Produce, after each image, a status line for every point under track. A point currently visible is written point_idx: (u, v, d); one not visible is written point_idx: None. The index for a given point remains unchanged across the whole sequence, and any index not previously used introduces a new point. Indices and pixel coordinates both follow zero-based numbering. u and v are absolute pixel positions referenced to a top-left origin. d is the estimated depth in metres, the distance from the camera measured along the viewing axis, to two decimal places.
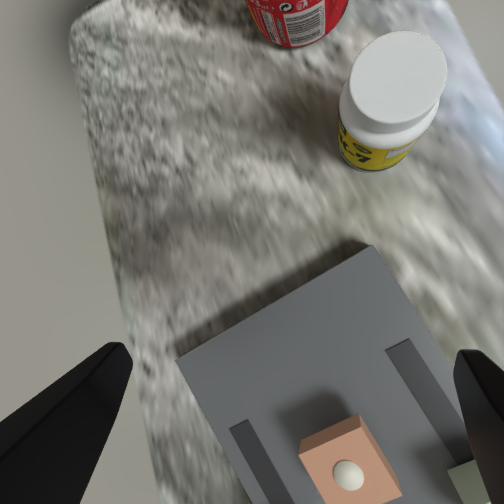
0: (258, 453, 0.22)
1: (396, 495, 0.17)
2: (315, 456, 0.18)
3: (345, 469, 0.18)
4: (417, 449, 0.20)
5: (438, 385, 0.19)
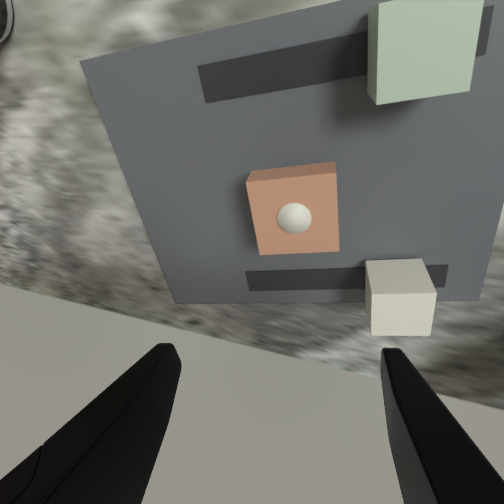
0: (281, 277, 0.21)
1: (333, 179, 0.14)
2: (265, 240, 0.16)
3: (288, 218, 0.15)
4: (332, 117, 0.15)
5: (263, 53, 0.14)
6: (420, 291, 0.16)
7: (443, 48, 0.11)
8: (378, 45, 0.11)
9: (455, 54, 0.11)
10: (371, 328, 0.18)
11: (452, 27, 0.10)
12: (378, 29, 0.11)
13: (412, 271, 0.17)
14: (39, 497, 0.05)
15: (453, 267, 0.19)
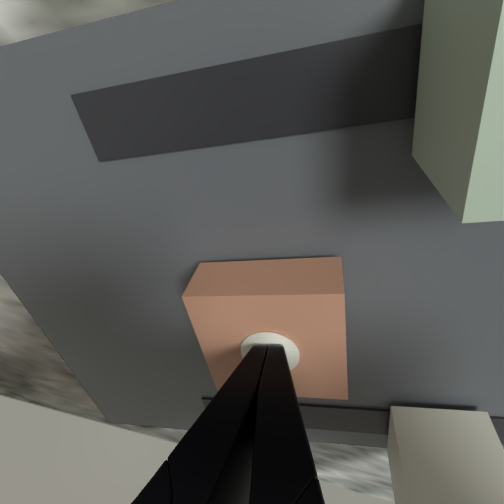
0: None
1: (338, 303, 0.07)
2: (224, 375, 0.10)
3: None
4: (338, 193, 0.08)
5: (194, 73, 0.07)
6: None
7: None
8: (493, 66, 0.03)
9: None
10: None
11: None
12: (500, 13, 0.03)
13: (477, 446, 0.10)
14: None
15: None
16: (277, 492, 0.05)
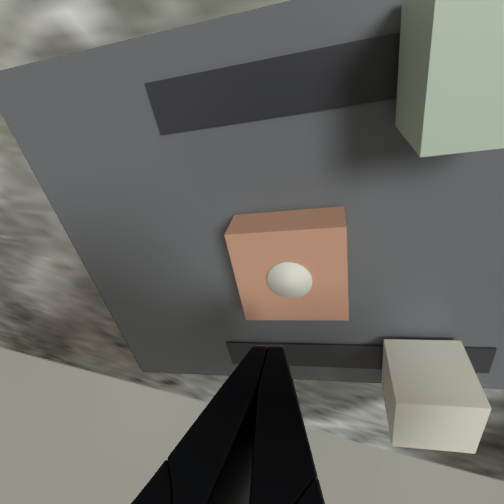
0: None
1: (342, 234, 0.10)
2: (252, 303, 0.13)
3: (281, 279, 0.12)
4: (342, 157, 0.11)
5: (238, 66, 0.10)
6: (467, 404, 0.11)
7: None
8: (430, 59, 0.06)
9: None
10: (393, 438, 0.13)
11: None
12: (432, 30, 0.06)
13: (450, 363, 0.13)
14: None
15: (502, 351, 0.14)
16: (277, 492, 0.05)
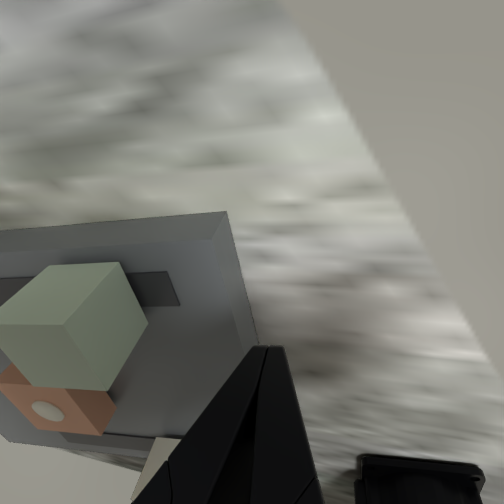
0: (91, 435, 0.21)
1: (63, 390, 0.14)
2: (35, 420, 0.17)
3: (43, 409, 0.16)
4: None
5: None
6: None
7: (61, 361, 0.10)
8: (2, 350, 0.10)
9: (75, 366, 0.10)
10: None
11: (57, 349, 0.10)
12: None
13: None
14: None
15: None
16: (277, 492, 0.05)
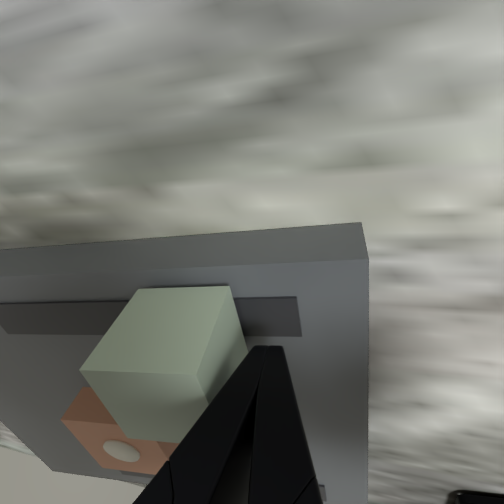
0: None
1: None
2: (102, 459, 0.15)
3: (116, 449, 0.14)
4: None
5: (51, 304, 0.12)
6: None
7: (177, 414, 0.08)
8: (100, 398, 0.08)
9: (194, 420, 0.08)
10: None
11: (177, 401, 0.08)
12: (93, 386, 0.08)
13: None
14: None
15: (331, 488, 0.16)
16: (276, 492, 0.05)
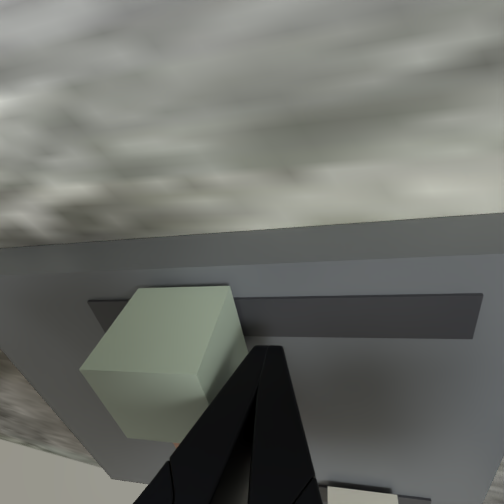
0: None
1: None
2: None
3: None
4: None
5: None
6: None
7: (176, 413, 0.08)
8: (100, 398, 0.08)
9: (193, 420, 0.08)
10: None
11: (178, 401, 0.08)
12: (93, 385, 0.08)
13: None
14: None
15: (437, 501, 0.15)
16: (275, 492, 0.05)
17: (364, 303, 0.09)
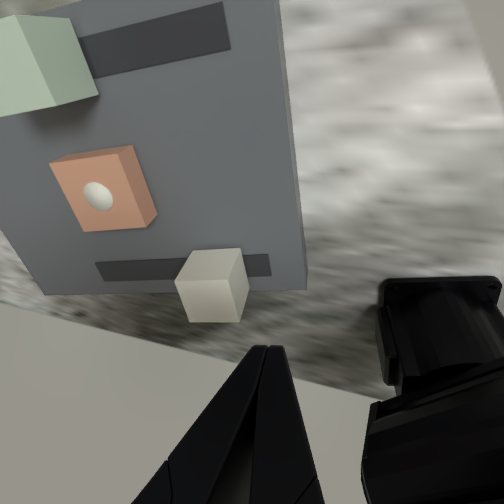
0: (128, 267, 0.22)
1: (116, 159, 0.16)
2: (83, 217, 0.18)
3: (94, 196, 0.17)
4: (121, 110, 0.16)
5: None
6: (215, 278, 0.17)
7: (17, 70, 0.12)
8: None
9: (28, 75, 0.12)
10: (188, 315, 0.18)
11: (13, 53, 0.12)
12: None
13: (223, 259, 0.18)
14: None
15: (273, 257, 0.19)
16: (277, 492, 0.05)
17: (158, 23, 0.14)
